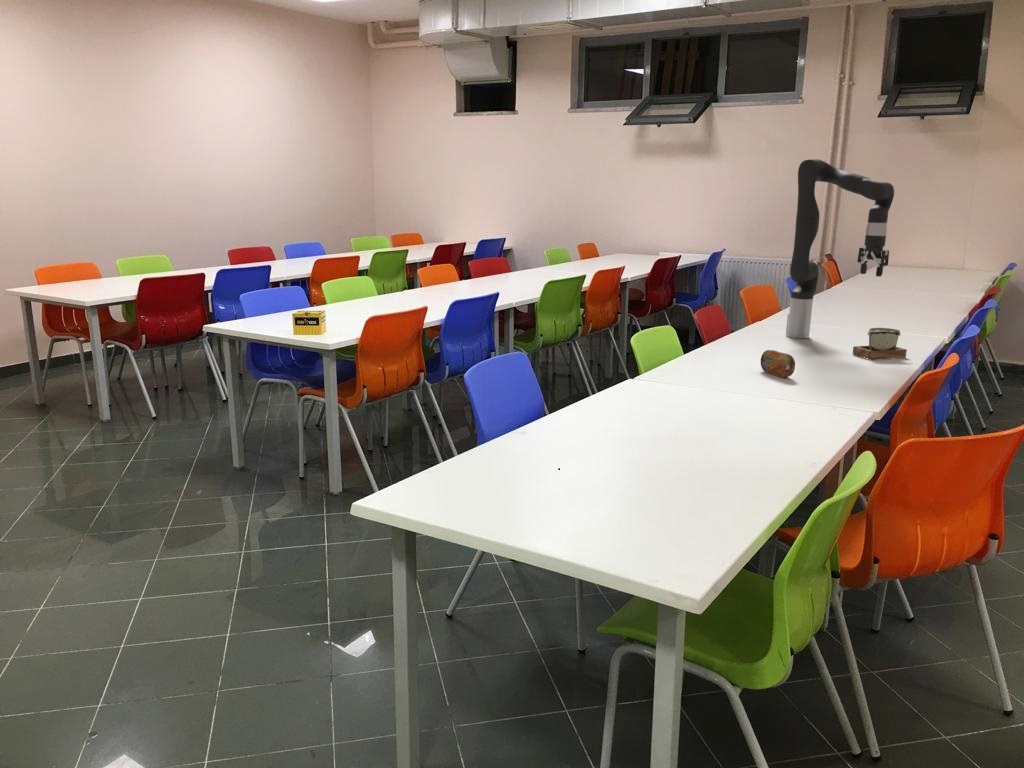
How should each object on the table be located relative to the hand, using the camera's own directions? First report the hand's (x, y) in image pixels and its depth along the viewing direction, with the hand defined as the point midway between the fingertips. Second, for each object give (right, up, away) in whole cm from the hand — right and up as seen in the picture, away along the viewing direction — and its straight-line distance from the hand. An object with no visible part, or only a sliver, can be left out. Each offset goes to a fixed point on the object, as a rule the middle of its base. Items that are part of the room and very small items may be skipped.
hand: (870, 275), depth 319 cm
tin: (-50, -41, -38) cm, 75 cm away
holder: (0, -33, -6) cm, 33 cm away
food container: (0, -32, -6) cm, 33 cm away
